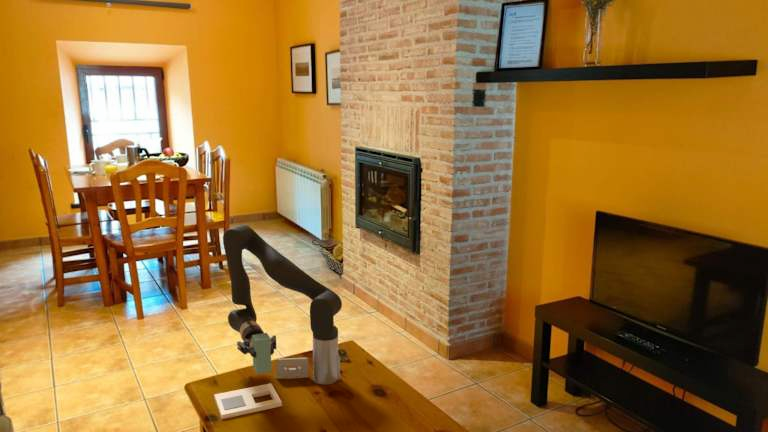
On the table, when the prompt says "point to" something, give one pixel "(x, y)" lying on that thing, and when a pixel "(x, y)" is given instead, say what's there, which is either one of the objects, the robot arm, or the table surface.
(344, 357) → the seal
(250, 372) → the table surface
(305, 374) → the cassette
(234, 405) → the puzzle board
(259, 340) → the teal block
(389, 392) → the table surface
